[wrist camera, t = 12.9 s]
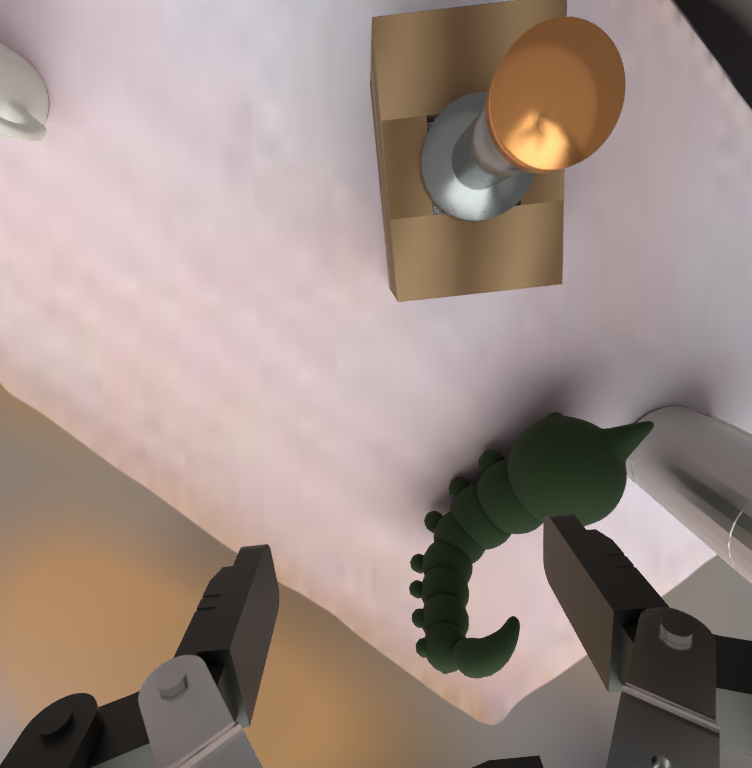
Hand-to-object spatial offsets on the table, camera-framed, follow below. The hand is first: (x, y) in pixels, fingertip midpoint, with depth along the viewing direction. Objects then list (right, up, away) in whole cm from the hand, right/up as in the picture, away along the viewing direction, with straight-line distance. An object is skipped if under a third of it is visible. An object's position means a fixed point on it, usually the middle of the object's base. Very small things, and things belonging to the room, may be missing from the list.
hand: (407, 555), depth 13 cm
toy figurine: (+12, -4, +33) cm, 36 cm away
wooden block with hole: (+5, +22, +25) cm, 34 cm away
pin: (+5, +21, +22) cm, 31 cm away
